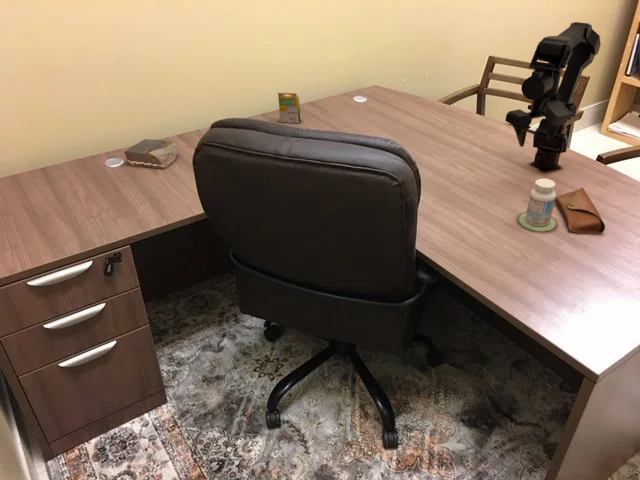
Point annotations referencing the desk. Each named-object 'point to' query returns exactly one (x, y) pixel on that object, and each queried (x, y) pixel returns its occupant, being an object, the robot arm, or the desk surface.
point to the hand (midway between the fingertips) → (535, 143)
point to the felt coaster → (536, 228)
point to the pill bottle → (541, 202)
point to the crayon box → (289, 107)
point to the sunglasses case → (580, 212)
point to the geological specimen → (152, 153)
